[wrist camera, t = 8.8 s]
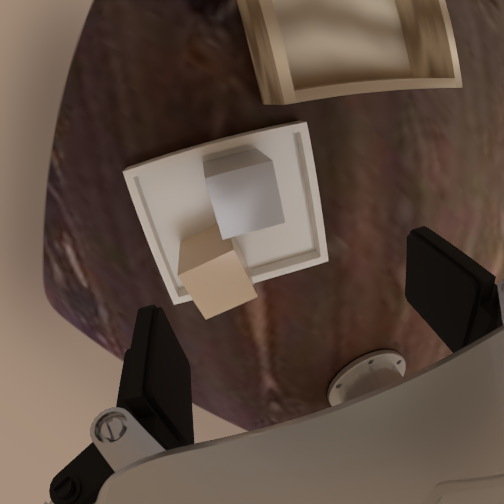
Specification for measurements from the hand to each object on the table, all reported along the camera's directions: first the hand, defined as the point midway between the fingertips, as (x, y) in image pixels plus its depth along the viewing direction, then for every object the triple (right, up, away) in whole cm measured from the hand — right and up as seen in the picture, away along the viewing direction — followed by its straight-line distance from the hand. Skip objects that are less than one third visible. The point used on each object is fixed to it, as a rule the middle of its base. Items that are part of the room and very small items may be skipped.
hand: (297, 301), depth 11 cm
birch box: (+5, +22, +11) cm, 25 cm away
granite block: (-3, +8, +16) cm, 18 cm away
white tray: (-3, +5, +17) cm, 18 cm away
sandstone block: (-5, +2, +18) cm, 19 cm away
